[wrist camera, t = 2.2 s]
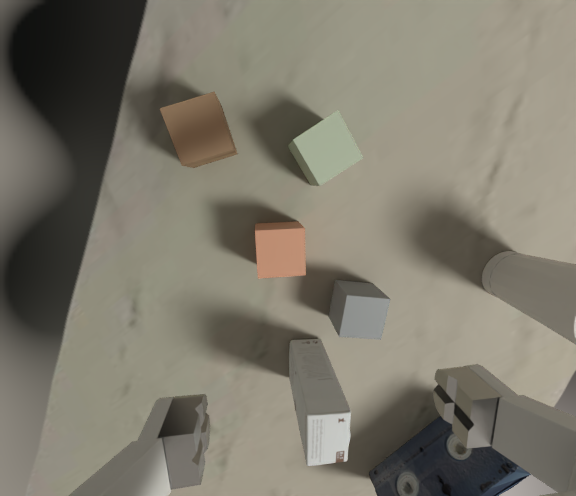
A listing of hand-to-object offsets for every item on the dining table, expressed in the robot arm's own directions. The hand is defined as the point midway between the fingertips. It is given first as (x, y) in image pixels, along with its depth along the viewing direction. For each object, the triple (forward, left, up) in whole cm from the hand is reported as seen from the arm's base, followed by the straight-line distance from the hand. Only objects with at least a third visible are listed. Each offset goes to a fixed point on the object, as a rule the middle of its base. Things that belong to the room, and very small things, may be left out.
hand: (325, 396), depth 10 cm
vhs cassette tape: (+32, +20, -25) cm, 45 cm away
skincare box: (+16, +3, -25) cm, 30 cm away
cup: (+6, +30, -25) cm, 39 cm away
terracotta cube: (0, 0, -25) cm, 25 cm away
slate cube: (+8, +9, -25) cm, 27 cm away
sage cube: (-10, +5, -25) cm, 27 cm away
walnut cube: (-12, -7, -25) cm, 28 cm away
